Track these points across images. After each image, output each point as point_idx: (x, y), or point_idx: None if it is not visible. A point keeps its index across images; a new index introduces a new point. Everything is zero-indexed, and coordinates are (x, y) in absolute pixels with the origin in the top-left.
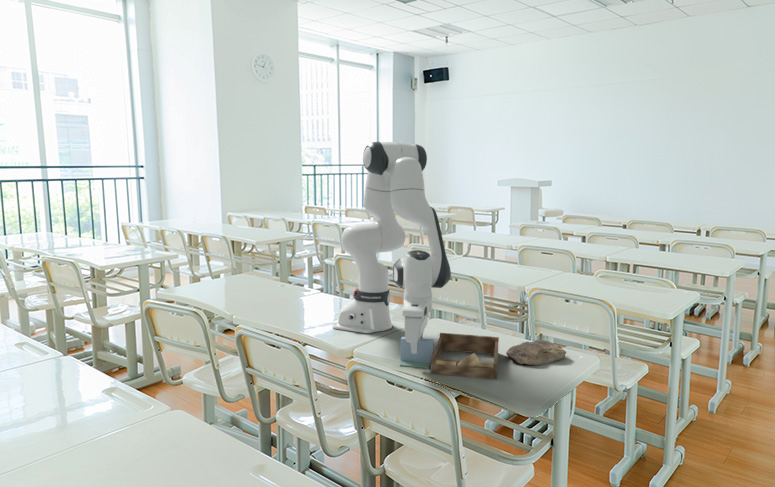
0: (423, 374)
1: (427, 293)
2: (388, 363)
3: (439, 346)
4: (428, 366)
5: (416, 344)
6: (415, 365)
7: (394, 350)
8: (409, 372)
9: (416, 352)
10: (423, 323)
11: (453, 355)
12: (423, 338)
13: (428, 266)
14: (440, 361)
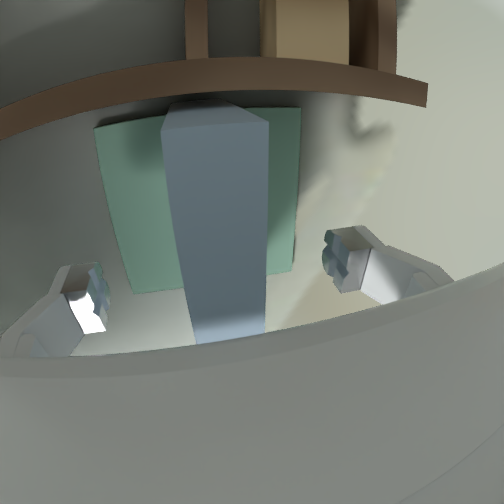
0: (381, 130)
1: None
2: (266, 315)
3: (67, 83)
4: (289, 113)
5: (430, 266)
6: (289, 194)
7: (94, 343)
8: (363, 201)
9: (365, 229)
10: (239, 497)
11: (11, 33)
12: (186, 271)
13: None
14: (301, 32)
